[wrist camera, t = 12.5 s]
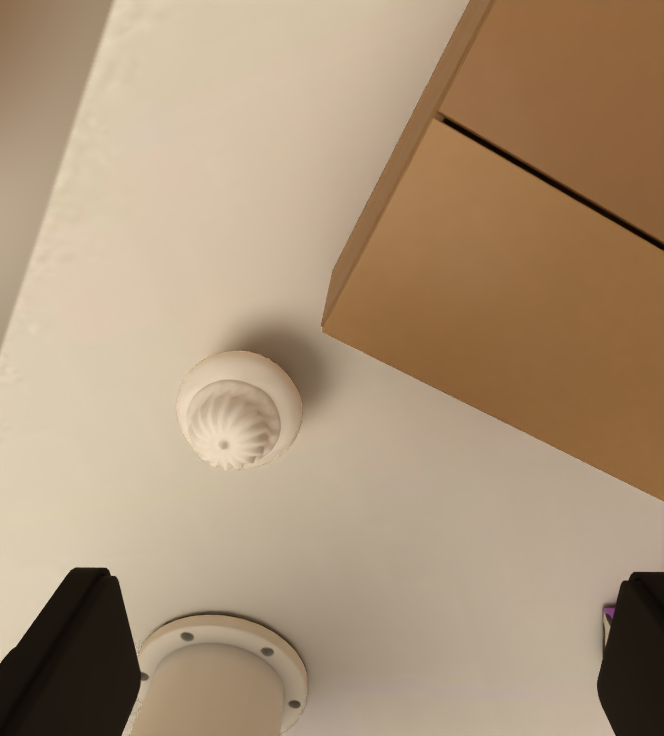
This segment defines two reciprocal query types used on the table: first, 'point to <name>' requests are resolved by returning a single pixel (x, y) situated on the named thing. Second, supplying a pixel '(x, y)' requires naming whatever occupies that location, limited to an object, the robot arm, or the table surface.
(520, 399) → the flap
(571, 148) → the carton
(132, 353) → the table surface
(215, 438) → the muffin
